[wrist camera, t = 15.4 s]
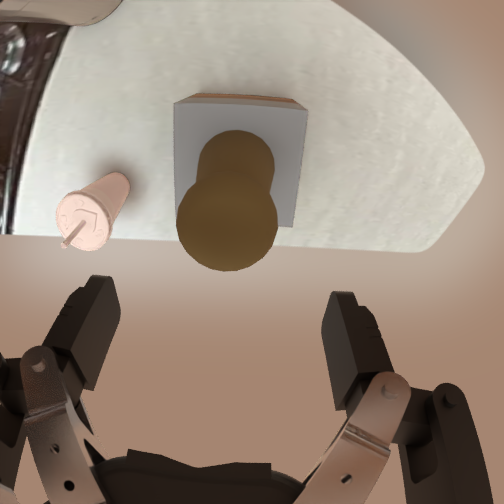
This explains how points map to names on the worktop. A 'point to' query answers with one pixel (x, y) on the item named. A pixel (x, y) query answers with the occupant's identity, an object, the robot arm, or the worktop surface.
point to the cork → (230, 203)
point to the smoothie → (92, 212)
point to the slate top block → (247, 119)
